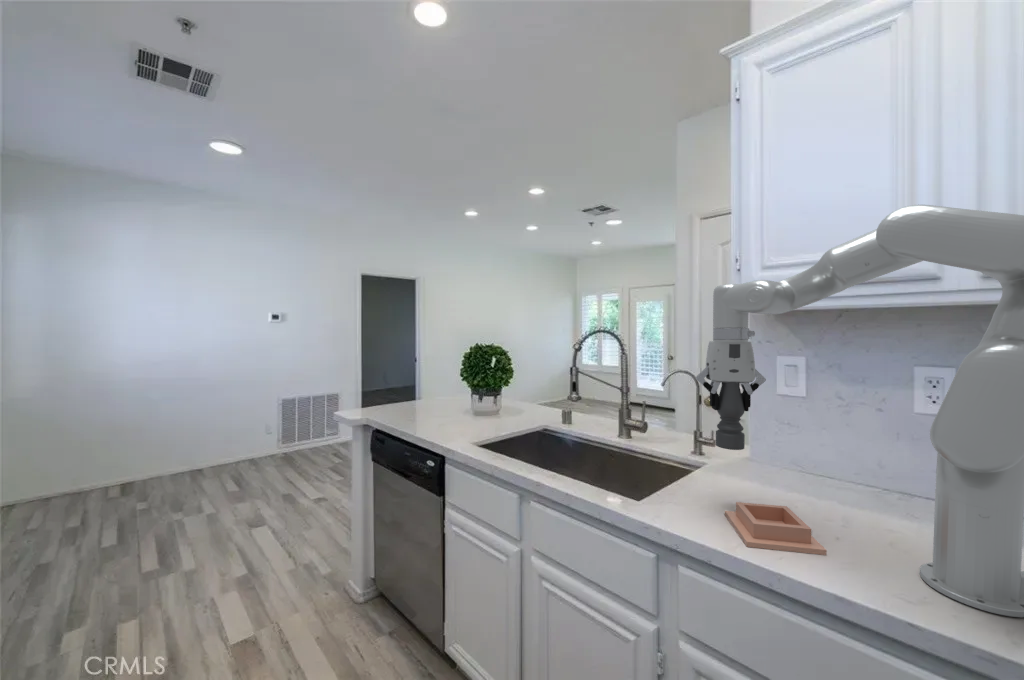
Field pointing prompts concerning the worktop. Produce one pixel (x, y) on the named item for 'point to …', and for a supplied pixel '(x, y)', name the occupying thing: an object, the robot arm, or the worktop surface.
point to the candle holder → (731, 411)
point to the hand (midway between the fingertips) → (729, 409)
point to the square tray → (773, 528)
